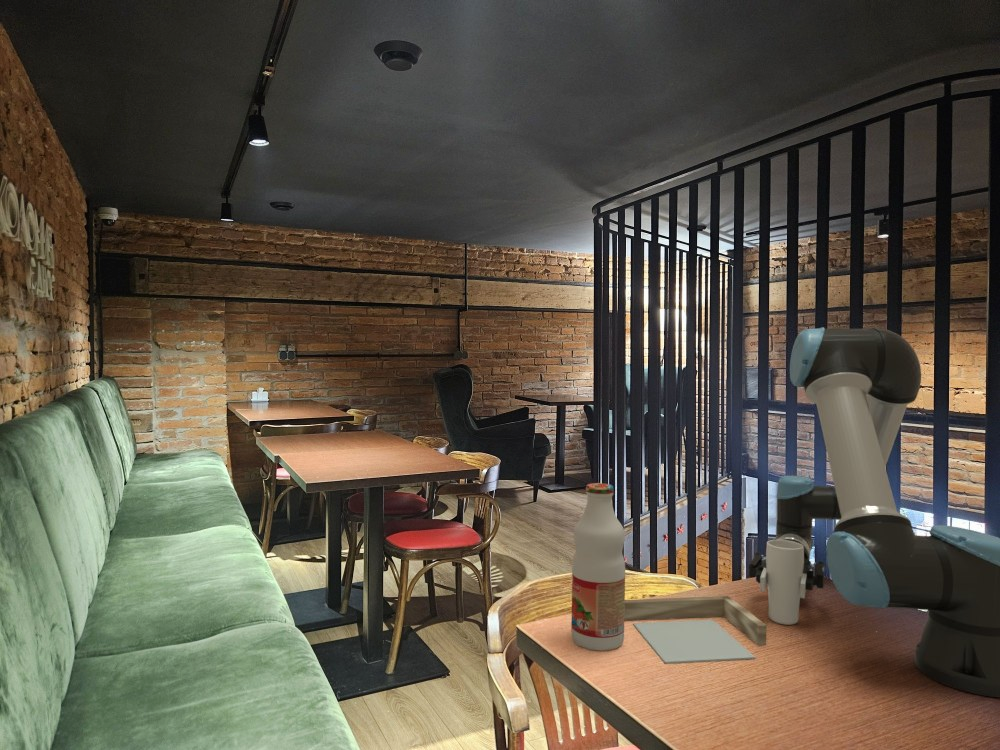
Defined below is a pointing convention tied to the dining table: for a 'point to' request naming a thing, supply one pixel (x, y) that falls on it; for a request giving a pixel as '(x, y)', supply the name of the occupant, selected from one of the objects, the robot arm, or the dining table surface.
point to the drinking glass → (784, 579)
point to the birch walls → (698, 612)
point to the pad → (692, 641)
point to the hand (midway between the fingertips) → (782, 587)
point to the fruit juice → (598, 574)
